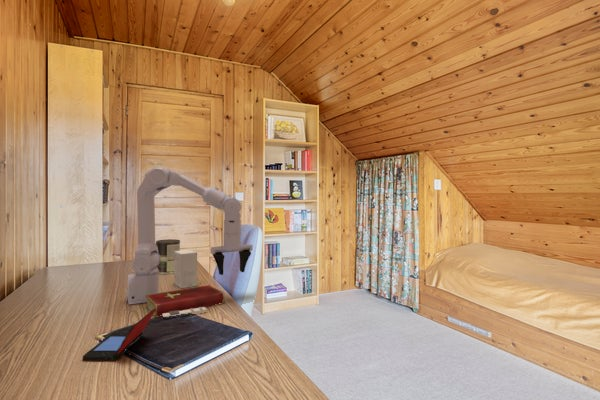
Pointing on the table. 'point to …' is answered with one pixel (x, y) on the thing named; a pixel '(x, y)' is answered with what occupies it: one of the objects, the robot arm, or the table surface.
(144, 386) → the table surface
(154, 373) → the table surface
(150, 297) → the hardcover book
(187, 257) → the small box
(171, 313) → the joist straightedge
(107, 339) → the handheld game console
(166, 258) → the coffee can
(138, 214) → the robot arm
